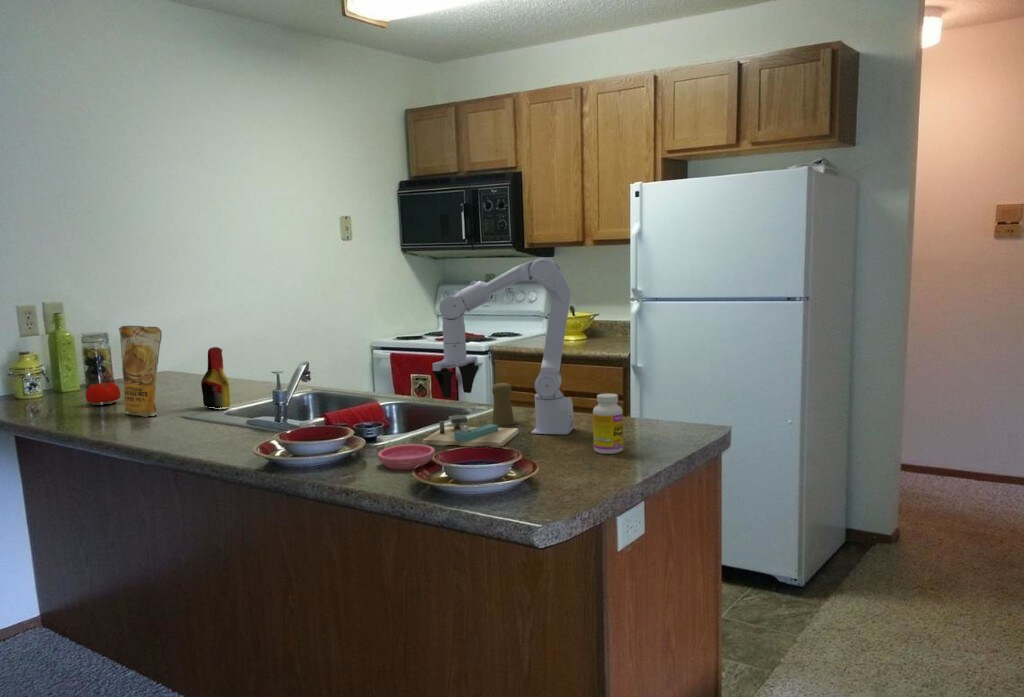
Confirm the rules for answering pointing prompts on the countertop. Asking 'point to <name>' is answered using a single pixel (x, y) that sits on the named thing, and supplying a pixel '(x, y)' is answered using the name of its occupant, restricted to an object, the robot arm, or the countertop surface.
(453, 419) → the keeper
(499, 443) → the base board
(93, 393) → the tomato
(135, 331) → the pancake mix bag
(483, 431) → the link
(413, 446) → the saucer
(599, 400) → the supplement bottle
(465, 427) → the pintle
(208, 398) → the bottle
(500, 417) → the cork
